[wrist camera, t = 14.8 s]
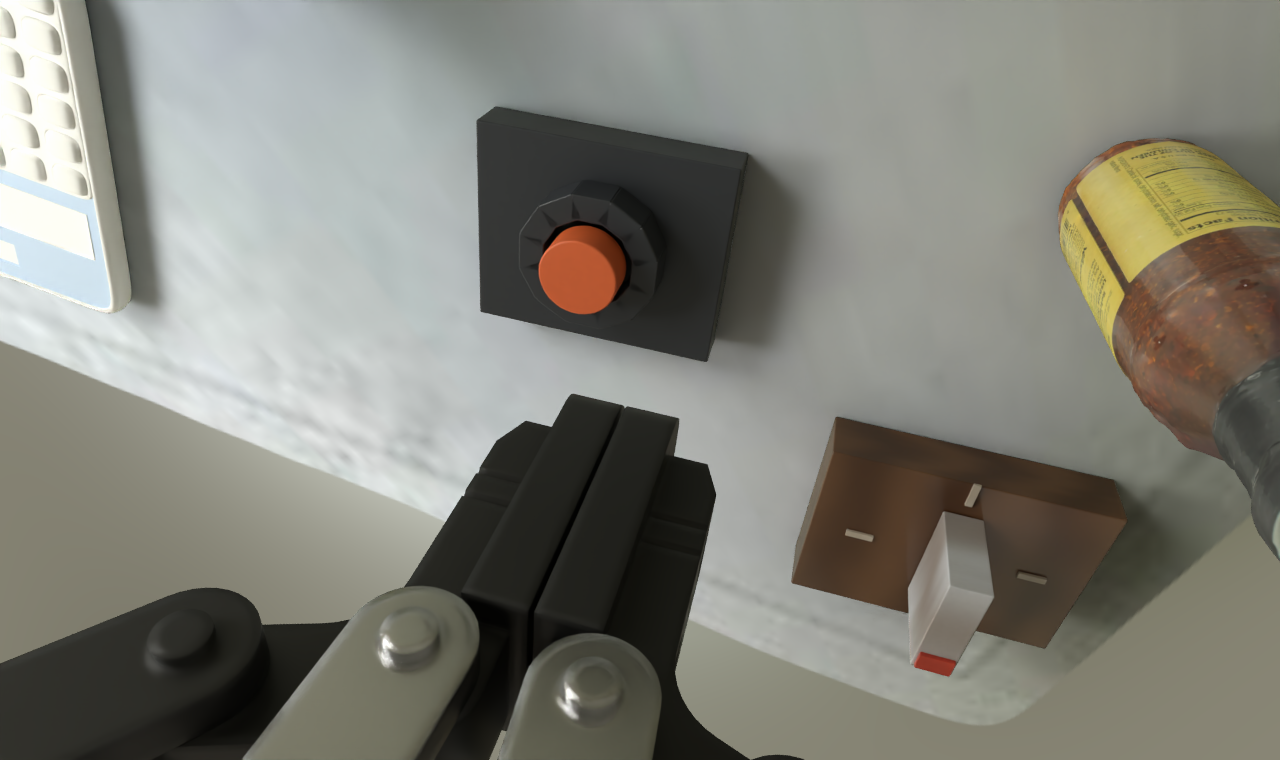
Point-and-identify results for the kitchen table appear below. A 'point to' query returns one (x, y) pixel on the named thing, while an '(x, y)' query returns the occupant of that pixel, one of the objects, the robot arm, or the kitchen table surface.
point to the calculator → (57, 159)
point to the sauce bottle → (1187, 299)
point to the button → (582, 269)
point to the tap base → (965, 485)
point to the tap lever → (949, 593)
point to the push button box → (608, 225)
